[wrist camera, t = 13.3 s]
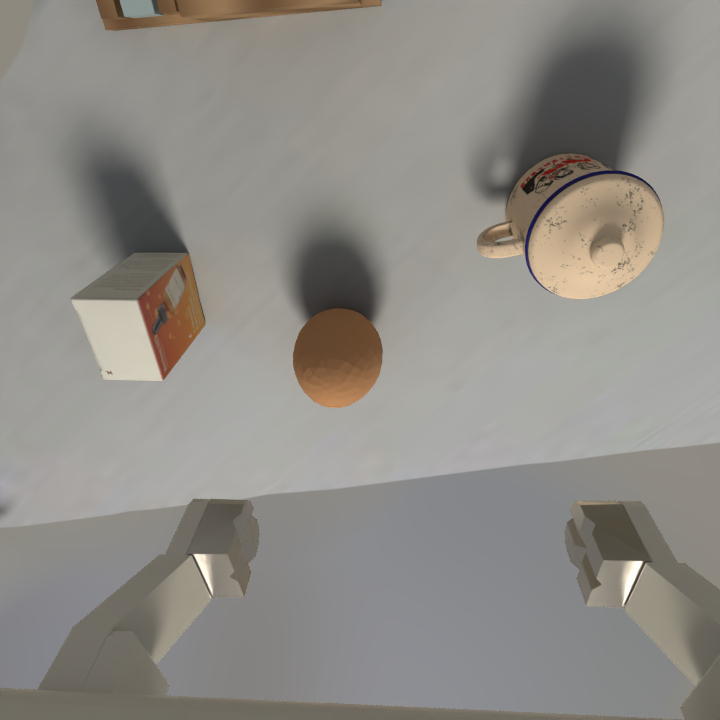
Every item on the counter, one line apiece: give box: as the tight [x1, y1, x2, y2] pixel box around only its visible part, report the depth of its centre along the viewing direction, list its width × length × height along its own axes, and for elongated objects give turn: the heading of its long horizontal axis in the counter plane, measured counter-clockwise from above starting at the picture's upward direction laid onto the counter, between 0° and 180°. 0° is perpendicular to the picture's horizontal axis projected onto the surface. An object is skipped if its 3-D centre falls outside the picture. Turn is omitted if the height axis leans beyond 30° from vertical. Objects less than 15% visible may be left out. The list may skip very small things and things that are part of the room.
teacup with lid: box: [477, 153, 664, 299], centre depth 34 cm, size 12×9×12 cm
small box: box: [71, 253, 205, 381], centre depth 41 cm, size 8×6×10 cm
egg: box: [293, 308, 383, 408], centre depth 42 cm, size 8×8×11 cm
